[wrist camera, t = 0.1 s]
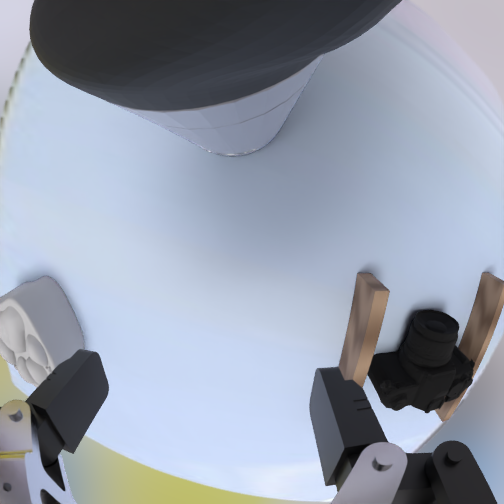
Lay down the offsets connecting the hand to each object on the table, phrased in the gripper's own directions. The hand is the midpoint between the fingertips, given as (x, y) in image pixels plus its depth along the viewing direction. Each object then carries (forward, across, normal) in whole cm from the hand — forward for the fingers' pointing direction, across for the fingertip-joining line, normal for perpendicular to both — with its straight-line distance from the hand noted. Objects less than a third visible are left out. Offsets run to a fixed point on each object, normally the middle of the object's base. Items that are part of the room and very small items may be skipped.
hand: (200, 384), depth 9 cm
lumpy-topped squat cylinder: (+18, +24, +10) cm, 32 cm away
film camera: (+18, -23, +11) cm, 31 cm away
